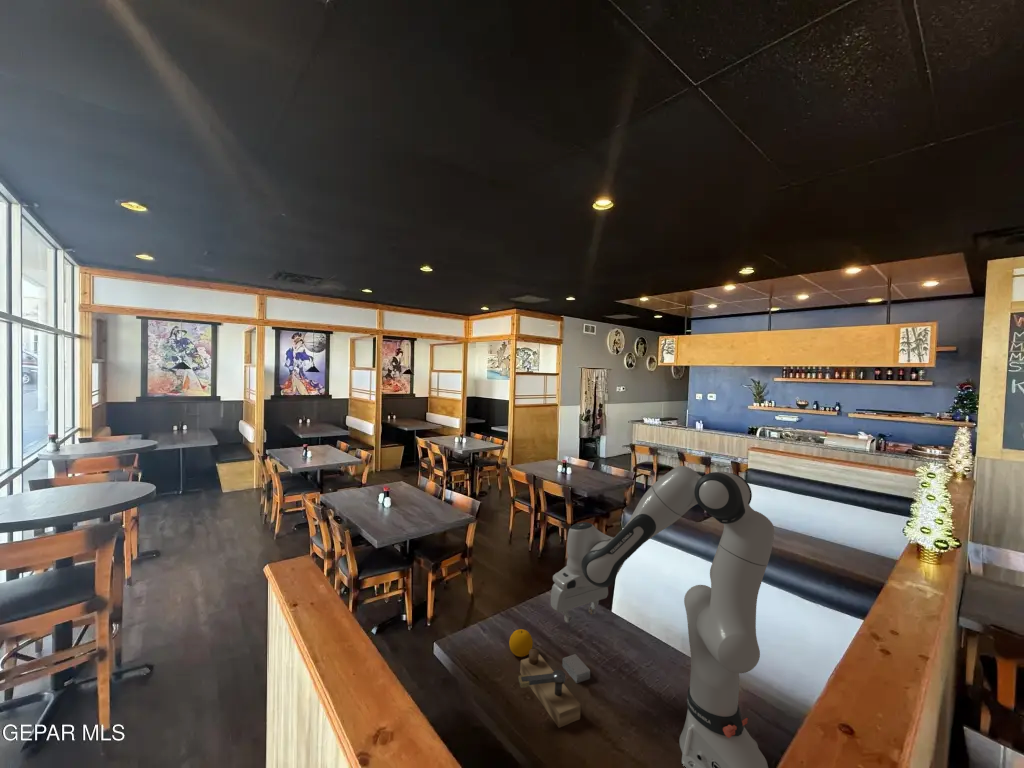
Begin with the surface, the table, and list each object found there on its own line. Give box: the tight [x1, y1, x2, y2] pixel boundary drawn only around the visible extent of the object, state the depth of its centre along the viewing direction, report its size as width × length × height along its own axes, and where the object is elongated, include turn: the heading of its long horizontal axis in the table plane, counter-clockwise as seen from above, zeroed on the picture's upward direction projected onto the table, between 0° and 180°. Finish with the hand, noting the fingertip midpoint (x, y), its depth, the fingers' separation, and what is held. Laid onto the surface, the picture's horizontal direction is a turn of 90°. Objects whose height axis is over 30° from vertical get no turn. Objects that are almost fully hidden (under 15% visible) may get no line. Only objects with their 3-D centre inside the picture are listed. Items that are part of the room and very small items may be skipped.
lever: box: [517, 669, 566, 689], centre depth 116 cm, size 13×4×2 cm, turn 102°
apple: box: [508, 628, 534, 658], centre depth 139 cm, size 8×8×8 cm
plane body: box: [519, 648, 582, 729], centre depth 122 cm, size 22×7×8 cm, turn 27°
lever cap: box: [561, 653, 591, 684], centre depth 131 cm, size 8×5×3 cm, turn 27°
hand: (580, 617), depth 130 cm, fingers open, 8 cm apart
